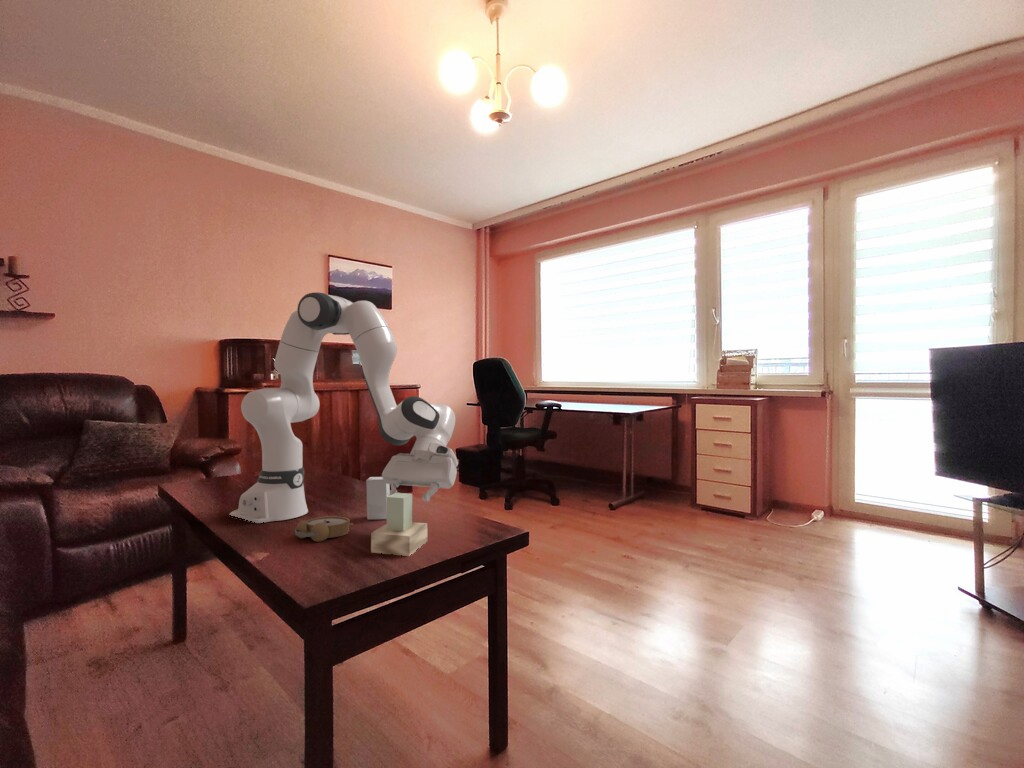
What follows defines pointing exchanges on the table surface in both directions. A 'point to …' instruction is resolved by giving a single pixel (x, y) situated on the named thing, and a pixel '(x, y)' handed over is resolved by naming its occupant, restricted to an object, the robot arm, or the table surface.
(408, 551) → the birch block
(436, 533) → the table surface
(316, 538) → the alarm clock
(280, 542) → the table surface
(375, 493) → the skincare box
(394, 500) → the sage block
